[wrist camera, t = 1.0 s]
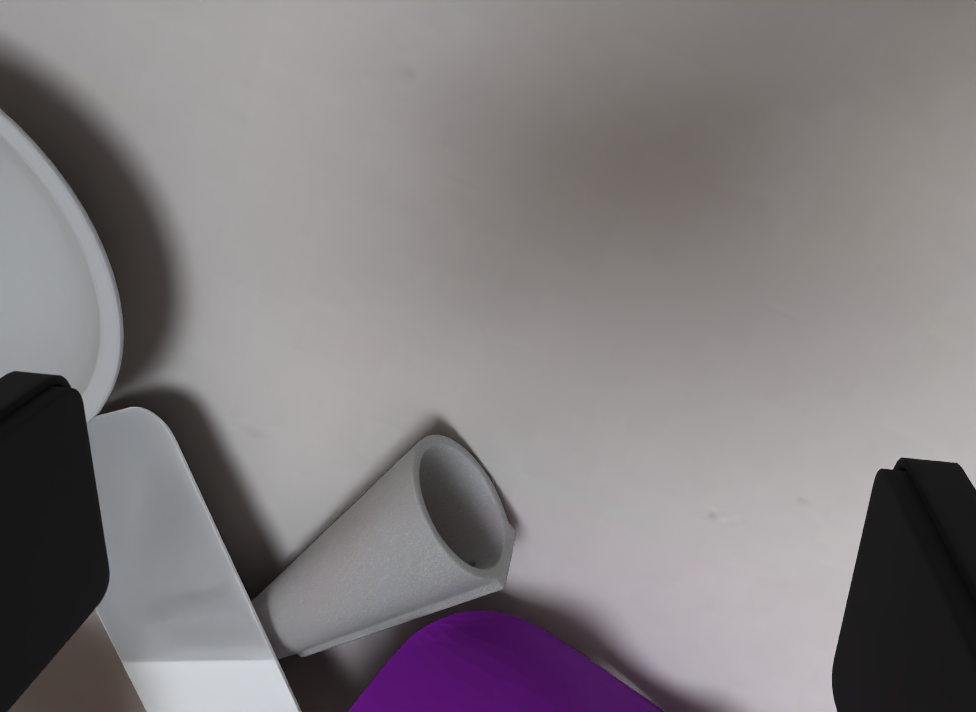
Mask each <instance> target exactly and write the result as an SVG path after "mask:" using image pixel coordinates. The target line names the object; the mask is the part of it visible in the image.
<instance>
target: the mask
mask: <svg viewBox="0 0 976 712" xmlns="http://www.w3.org/2000/svg"><path fill="white" fill-rule="evenodd" d="M348 712H665V711H663V710H662V709H660V708H659V707H658V706H656V705H655V704H653V703H652V702H650V701H649V700H647V699H646V698H645V697H643V696H642V695H640V694H639V693H637V692H636V691H634V690H633V689H632V688H630V687H629V686H627V685H626V684H624V683H623V682H621V681H620V680H619V679H617V678H616V677H614V676H613V675H611V674H610V673H609V672H607V671H606V670H604V669H603V668H601V667H600V666H598V665H597V664H596V663H594V662H593V661H591V660H590V659H588V658H587V657H585V656H584V655H583V654H581V653H580V652H578V651H577V650H575V649H574V648H572V647H571V646H569V645H568V644H566V643H565V642H563V641H562V640H560V639H559V638H557V637H556V636H554V635H552V634H551V633H549V632H547V631H545V630H544V629H542V628H540V627H538V626H536V625H534V624H532V623H530V622H528V621H526V620H524V619H521V618H518V617H515V616H512V615H509V614H504V613H499V612H493V611H466V612H461V613H457V614H452V615H449V616H447V617H444V618H442V619H439V620H437V621H435V622H433V623H431V624H429V625H427V626H425V627H423V628H421V629H420V630H419V631H417V632H416V633H414V634H413V635H412V636H411V637H410V638H409V639H408V640H407V641H406V642H405V643H404V644H403V645H402V646H401V647H400V648H399V649H398V651H397V652H396V653H395V654H394V655H393V656H392V657H391V658H390V660H389V661H388V662H387V663H386V665H385V666H384V667H383V668H382V669H381V671H380V672H379V673H378V674H377V676H376V677H375V678H374V679H373V681H372V682H371V683H370V684H369V686H368V687H367V688H366V689H365V691H364V692H363V693H362V694H361V696H360V697H359V698H358V699H357V701H356V702H355V703H354V705H353V706H352V707H351V708H350V710H349V711H348Z"/></svg>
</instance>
